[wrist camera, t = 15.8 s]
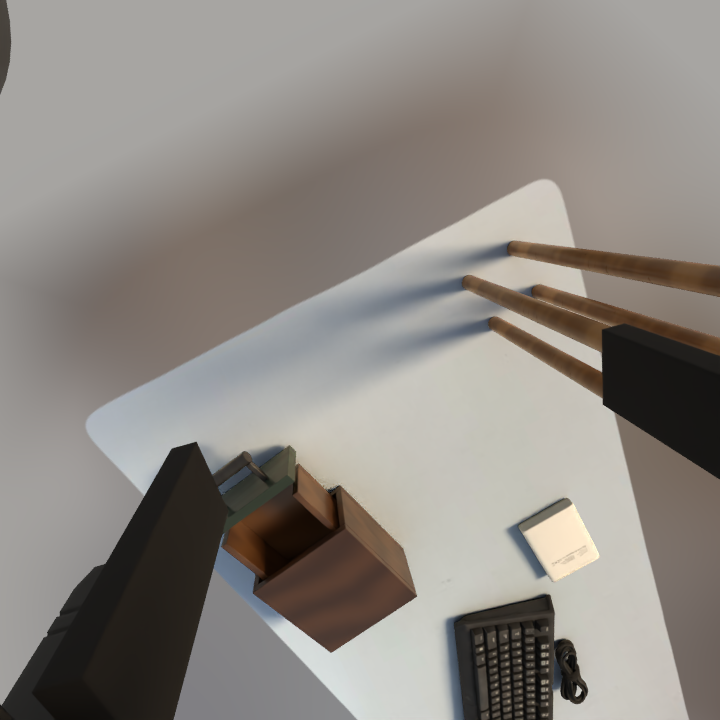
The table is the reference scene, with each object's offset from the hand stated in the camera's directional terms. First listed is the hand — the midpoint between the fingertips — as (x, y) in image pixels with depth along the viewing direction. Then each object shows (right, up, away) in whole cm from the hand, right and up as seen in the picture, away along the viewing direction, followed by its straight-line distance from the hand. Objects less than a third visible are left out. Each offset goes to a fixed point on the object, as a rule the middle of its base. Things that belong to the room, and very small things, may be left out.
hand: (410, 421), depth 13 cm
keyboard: (+26, -53, +57) cm, 82 cm away
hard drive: (+28, -25, +47) cm, 60 cm away
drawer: (-12, -15, +37) cm, 42 cm away
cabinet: (-5, -24, +42) cm, 48 cm away
